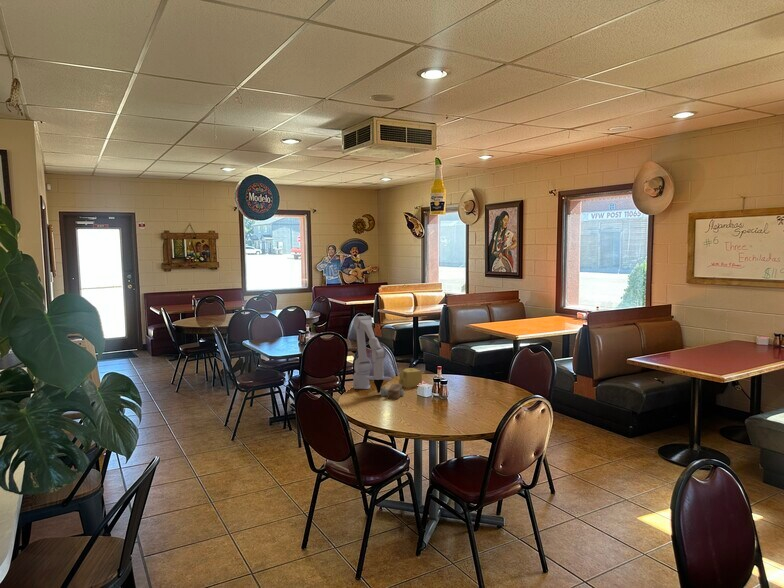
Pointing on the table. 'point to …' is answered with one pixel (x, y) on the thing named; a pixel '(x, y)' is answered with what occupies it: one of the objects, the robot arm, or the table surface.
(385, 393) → the steel key pin
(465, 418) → the table surface
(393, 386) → the walnut tunnel block
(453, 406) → the table surface
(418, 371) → the cheese
